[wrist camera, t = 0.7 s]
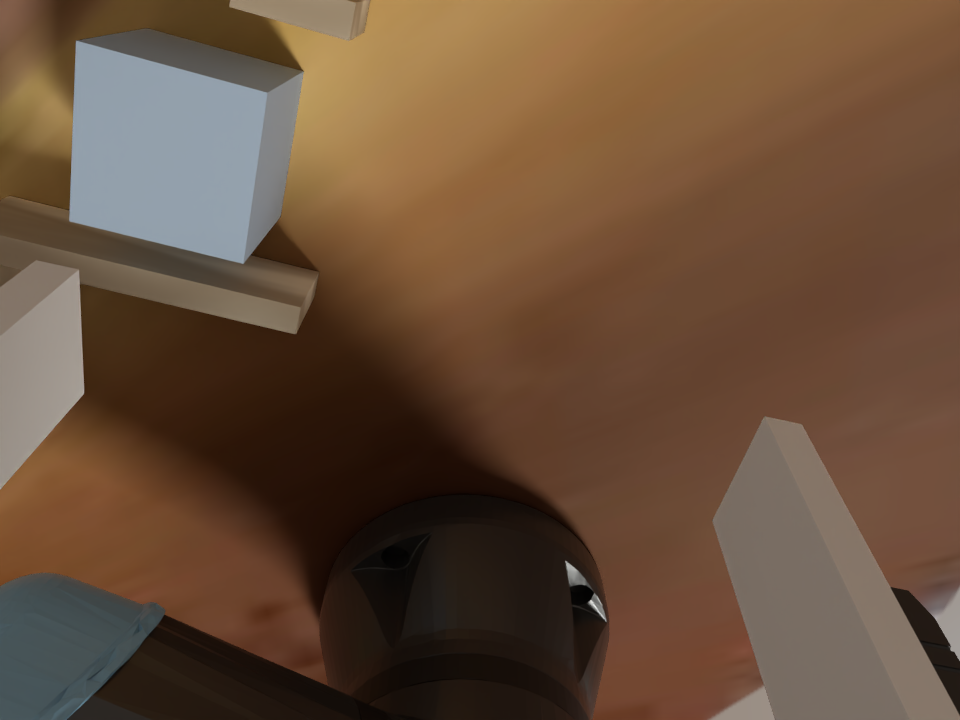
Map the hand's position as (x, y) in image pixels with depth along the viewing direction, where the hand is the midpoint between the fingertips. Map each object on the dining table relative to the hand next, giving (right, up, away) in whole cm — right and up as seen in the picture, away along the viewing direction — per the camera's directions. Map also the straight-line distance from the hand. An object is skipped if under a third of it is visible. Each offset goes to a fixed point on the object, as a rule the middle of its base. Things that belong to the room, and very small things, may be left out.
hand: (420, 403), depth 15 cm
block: (-9, +10, +16) cm, 21 cm away
